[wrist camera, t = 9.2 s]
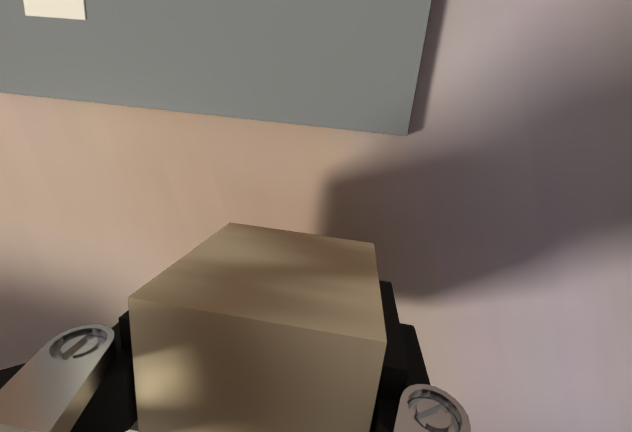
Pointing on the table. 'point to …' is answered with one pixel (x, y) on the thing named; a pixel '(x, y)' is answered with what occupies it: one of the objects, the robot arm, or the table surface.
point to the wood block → (260, 335)
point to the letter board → (223, 57)
